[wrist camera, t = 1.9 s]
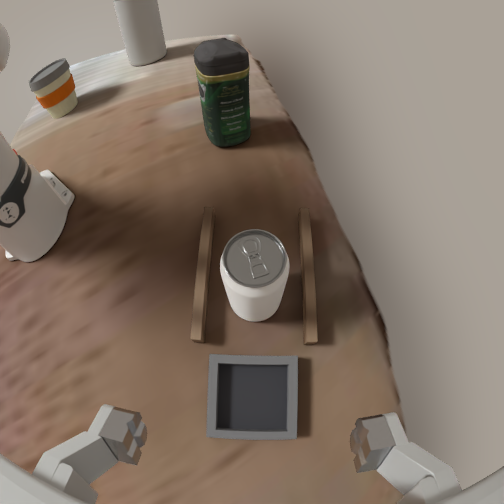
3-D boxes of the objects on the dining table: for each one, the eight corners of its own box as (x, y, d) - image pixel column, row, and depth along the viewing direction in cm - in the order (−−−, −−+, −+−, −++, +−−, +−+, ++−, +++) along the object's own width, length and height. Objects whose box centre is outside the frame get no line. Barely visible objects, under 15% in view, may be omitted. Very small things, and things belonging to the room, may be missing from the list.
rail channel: (313, 344, 32) (317, 341, 30) (194, 342, 33) (190, 339, 30) (306, 218, 40) (308, 208, 38) (207, 216, 41) (204, 206, 38)
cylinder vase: (144, 68, 65) (127, -1, 43) (123, 65, 69) (106, 3, 46) (174, 52, 70) (163, -13, 47) (152, 49, 73) (139, -10, 51)
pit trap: (294, 436, 27) (296, 438, 26) (209, 434, 28) (206, 436, 26) (295, 357, 32) (297, 355, 30) (211, 355, 32) (209, 353, 30)
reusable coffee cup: (69, 95, 63) (53, 59, 50) (90, 96, 61) (74, 55, 47) (41, 121, 58) (21, 85, 45) (60, 124, 56) (38, 83, 42)
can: (270, 267, 37) (276, 216, 26) (288, 312, 34) (303, 278, 24) (223, 282, 36) (209, 236, 25) (238, 329, 33) (229, 302, 23)
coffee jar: (256, 142, 48) (256, 49, 31) (214, 153, 47) (200, 59, 30) (239, 114, 52) (235, 32, 35) (201, 123, 51) (187, 40, 34)
